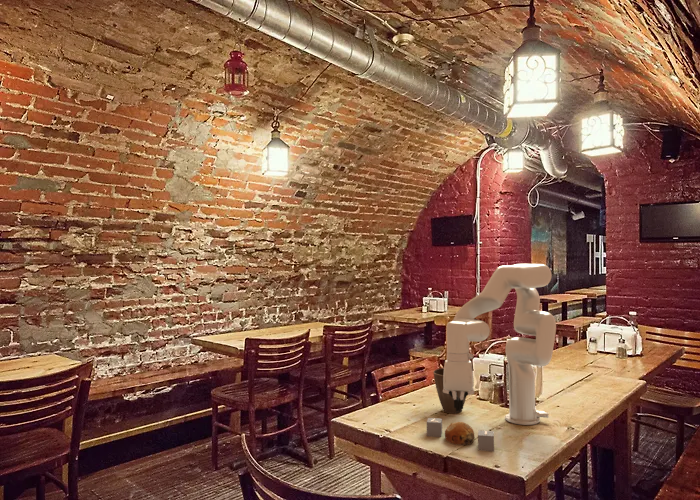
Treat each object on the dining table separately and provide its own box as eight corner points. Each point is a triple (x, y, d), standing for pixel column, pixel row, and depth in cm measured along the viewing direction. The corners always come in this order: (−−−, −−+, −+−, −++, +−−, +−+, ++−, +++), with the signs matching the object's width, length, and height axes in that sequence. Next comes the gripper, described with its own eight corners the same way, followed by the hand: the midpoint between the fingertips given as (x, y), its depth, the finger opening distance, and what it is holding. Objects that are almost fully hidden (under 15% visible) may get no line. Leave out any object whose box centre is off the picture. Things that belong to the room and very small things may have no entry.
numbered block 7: (442, 432, 191) (442, 418, 191) (441, 437, 186) (440, 422, 186) (428, 431, 192) (428, 417, 192) (426, 436, 187) (426, 421, 187)
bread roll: (472, 447, 186) (469, 423, 189) (479, 444, 177) (476, 419, 180) (444, 448, 186) (441, 424, 189) (449, 444, 176) (447, 419, 180)
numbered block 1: (494, 446, 177) (493, 430, 177) (494, 451, 172) (493, 435, 172) (478, 445, 178) (478, 429, 178) (478, 450, 173) (477, 434, 173)
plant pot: (471, 417, 208) (470, 376, 208) (433, 415, 211) (432, 375, 211) (470, 406, 223) (469, 368, 223) (434, 405, 226) (434, 367, 226)
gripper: (480, 356, 185) (481, 408, 185) (437, 354, 189) (438, 406, 189) (479, 360, 178) (480, 415, 177) (435, 358, 182) (435, 412, 181)
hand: (458, 410), depth 183 cm, fingers closed
